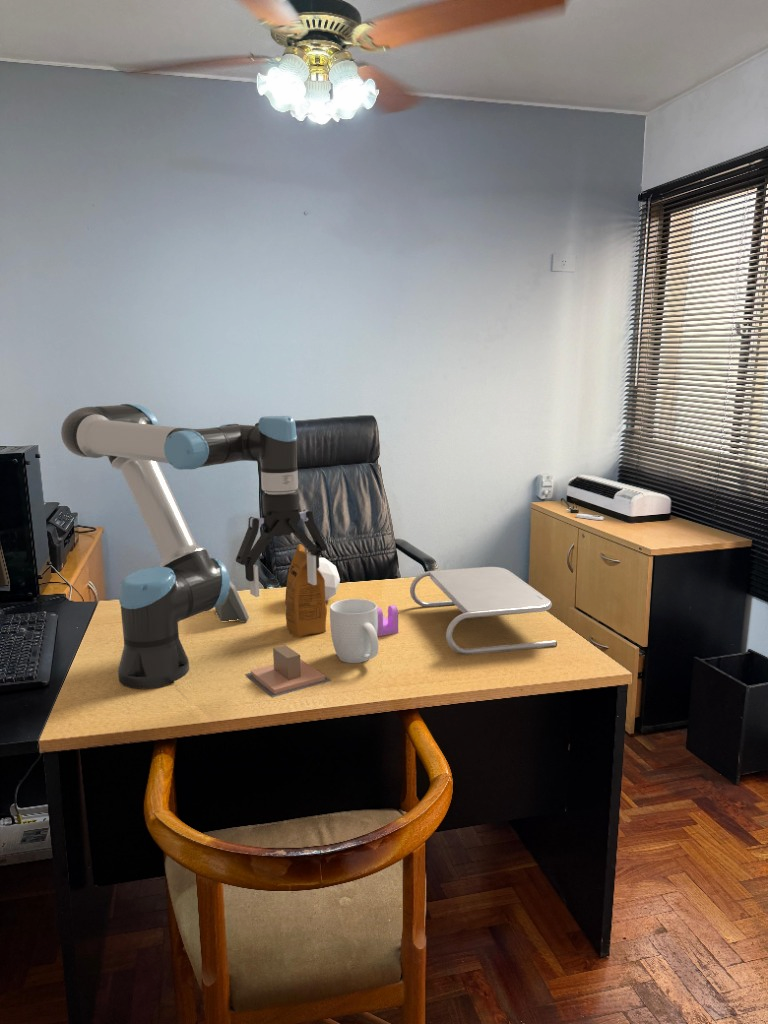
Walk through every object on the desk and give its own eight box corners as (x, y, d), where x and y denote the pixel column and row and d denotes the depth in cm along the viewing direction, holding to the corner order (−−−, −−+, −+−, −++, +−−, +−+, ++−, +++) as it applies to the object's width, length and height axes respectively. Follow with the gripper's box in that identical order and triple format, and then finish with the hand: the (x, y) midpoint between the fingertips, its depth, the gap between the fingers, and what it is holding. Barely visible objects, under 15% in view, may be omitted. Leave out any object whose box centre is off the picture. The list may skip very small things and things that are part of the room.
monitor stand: (557, 647, 175) (559, 605, 173) (446, 658, 169) (447, 614, 167) (502, 600, 210) (503, 565, 208) (409, 608, 205) (409, 571, 203)
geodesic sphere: (335, 593, 199) (338, 547, 205) (286, 593, 200) (290, 547, 206) (341, 609, 212) (343, 566, 218) (295, 609, 213) (298, 566, 219)
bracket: (398, 633, 185) (398, 607, 184) (378, 636, 183) (377, 610, 182) (380, 617, 197) (380, 593, 195) (361, 620, 195) (360, 595, 194)
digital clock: (249, 624, 193) (247, 585, 191) (214, 626, 191) (212, 588, 189) (247, 605, 208) (245, 569, 206) (215, 607, 206) (213, 571, 204)
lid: (274, 694, 149) (273, 667, 148) (250, 674, 159) (249, 649, 158) (324, 679, 156) (324, 653, 155) (298, 661, 166) (298, 637, 165)
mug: (396, 667, 164) (396, 612, 161) (355, 678, 158) (354, 622, 155) (362, 646, 176) (361, 595, 173) (322, 656, 170) (321, 604, 168)
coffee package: (319, 619, 195) (316, 540, 191) (330, 635, 184) (328, 551, 179) (282, 624, 192) (279, 544, 188) (291, 640, 181) (288, 555, 176)
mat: (272, 700, 148) (272, 697, 148) (244, 676, 160) (244, 674, 159) (331, 682, 156) (331, 680, 156) (300, 661, 167) (300, 659, 167)
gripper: (230, 500, 140) (236, 605, 144) (340, 487, 154) (343, 583, 158) (216, 495, 146) (222, 595, 150) (323, 483, 160) (326, 575, 164)
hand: (284, 589), depth 154 cm, fingers open, 13 cm apart
